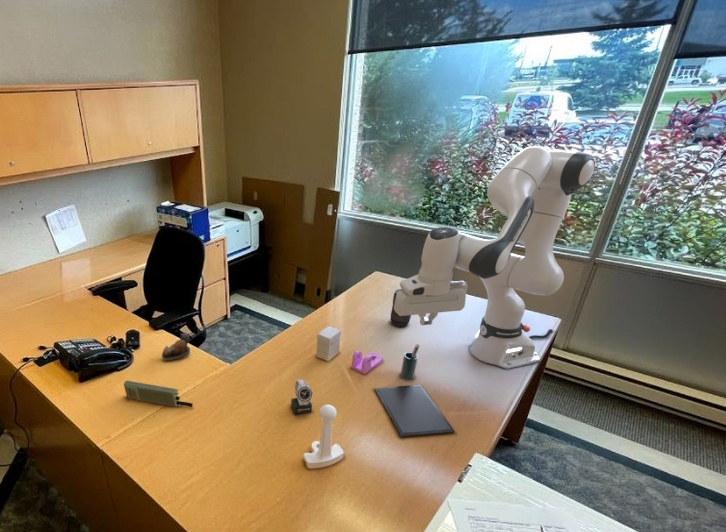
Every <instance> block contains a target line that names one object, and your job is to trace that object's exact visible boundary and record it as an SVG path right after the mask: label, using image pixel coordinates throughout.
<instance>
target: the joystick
mask: <svg viewBox="0 0 726 532" xmlns="http://www.w3.org/2000/svg"><path fill="white" fill-rule="evenodd" d="M337 412H338V411H337V409H336V408H335V407H334V406H333V405H331V404H323V405H321V407H320V409H319V410H318V414H319V418H320V419H321V420H322V422H321V430H320V436H319V440H315V441H313V442H312V443H311V448H310V449H311V452H304V453H303V458H302V459H303V461H304V462H305V466H306V467H307V468H308V469H320V468H325V467H329V466H332V465H334V464H337V463H338V462H340V461H341V460H343V458H344V453H345V451H344V450H343V448H342V446H340V445H339V443H335V444H333V445H332V438H333V437H332V435H333V434H332V433H333V432H332V431H333V429H332V428H333V421H335V419H337Z"/></svg>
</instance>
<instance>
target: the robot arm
mask: <svg viewBox="0 0 726 532" xmlns="http://www.w3.org/2000/svg"><path fill="white" fill-rule="evenodd" d="M595 169H596V160H595V158H594V156H593V154H590V153H587V152H583V151H570V150H561V149H552V150H549V149H548V150H547V149H546V148H543V147H541V146H537V145H536V146H535V145H534V146H528V147H525V148H523V149H521V150H520V151H519V152H517V153H516V154H515V155H514V156H512V157H511V158H510V159H509V161H507V162H506V163H505V164H504V166H502V167H501V169H500V170H499V171H498V172H497V173H496V175H495V176H494V177H493V178H492V179H491V180H490V183H489V184H488V186H487V190H486V191H487V192H486V193H487V194H486V195H487V198H488V201H489V203H490V204H491V206H492V207H493V208H494V209H495V210H496V211H498V212H500V213H501V214H502V215H504V216H505V217H506V218H507V219H506V221H505V223H504V224H503V226H502V228H501V229H500V231H499V233H498V235H497V237H496V238H493V239H486V238H485V239H484V238H481V237H478V236H473V235H471V234H467V233H464V232H460V231H459V230H458V229H457V228H455V227H453V226H438V227H435V228H433V229H431V230H430V231H429V232H428V234H427V236H426V238H425V241H424V245H423V248H422V253H421V258H420V259H421V261H420V262H421V265H420V268H419V270H418V273H416V274H415V275H413V276H411V277H408V278H406V279H402V280H401V281H400V282H399V287H400V288H399V289H400V290H399V291H398V293H397V295H396V299H395V303H394V310H395V312H396V313H397V314H398V315H399V316H406V315H411V316H415V315H416V316H417V315H418V317H419V324H420V325H421V326H429V325H432V324H433V321H434V320H435V319H436V317H437V316H438V315H439V313H448V312H450V313H451V312H459V311H462V310H463V309H464V308H465V306H466V299H467V291H468V286H469V285H468V283H467V282H466V281H464V280H458V281H452V280H453V276H454V273H453V269H454V268H456V269H459V270H461V271H463V272H468V273H470V274H472V275H473V276H476V277H478V278H479V279H480V280H481V281H482V283H483V286H484V287H485V290H486V294H487V303H486V308H485V313H484V316H483V317H482V319H481V321H480V325H479V330H478V332H477V333H476V334H475V336H474V338H475V340H474V341H473V343H472V345H470V347H469V352H470V353H471V355H472V356H473V357H475V358H476V359H477V360H480V361H481V362H483V363H486V364H489V365H490V364H491V365H495V366H498V367H500V368H501V369H506V370H508V369H514V368H517V367H521V366H526V365H530V364H535V363H540V360H541V357H540V354H539V353H538V352H537V351H536V350H535V349H536V344H535V343H534V341H533V340H532V339H536V338H537V339H544V338H547V337H549V336H550V335H551V333H553V332H554V331H553V329H551V328H549V329H548V331H547V332H546V333H545V334H544V335H538V334H534V335H529V336H528V335H527V334H525V333H529V332H530V331H531V327H529V326H528V325H527V324H523V323H522V319H523V317H524V314H525V311H526V305H525V301H524V300H523V299H522V298H521V297H520V295H518V294H517V293H516V291H520V292H523V293H527V294H529V295H536V296H544V297H545V296H546V297H548V296H551V295H553V294H555V293H556V292H557V291H559V290H560V288H561V287H562V286H563V284H564V280H565V275H564V270H563V269H562V268H561V266H560V265H559V264H558V263H557V260H556V258H555V255H554V254H555V253H554V243H555V239H556V236H557V234H558V231H559V229H560V227H561V225H562V222H563V220H564V218H565V216H566V213H567V210H568V208H569V205H570V202H571V198H572V194H574V193H575V192H576V191H579V190H580V189H582V188H583V187H585V186H586V185H587V184H588V183H589V181H590V180H591V178H592V177H593V175H594V172H595ZM517 243H520V244H521V245H522V246H523V247H524V250H525V253H524V255H519V254H516V253H512V252H513V251H514V249H515V247H516V245H517ZM515 290H516V291H515ZM427 314H429V315H428V316H427V317H426V315H427Z"/></svg>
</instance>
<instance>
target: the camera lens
mask: <svg viewBox="0 0 726 532" xmlns="http://www.w3.org/2000/svg"><path fill="white" fill-rule="evenodd" d="M400 289H401V288H399V289H395V291H394V293H393V297H392V305H391V311H390V323H391V325H392V326H393V327H395V328H406V327H407V326H408V325H409V323H410V321H411V317H412V315H406V316H399V315H398V314H397V313H396V312H395V310H394V303H395V299H396V295H397V293H398V291H399V290H400Z"/></svg>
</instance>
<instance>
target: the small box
mask: <svg viewBox="0 0 726 532" xmlns="http://www.w3.org/2000/svg"><path fill="white" fill-rule="evenodd" d="M341 334H342V330H341V329H338V328H335V327H334V326H330V325H328V326H326V327H325V328H324V329H322V330H321V331H319V332H318V333H317V338H316V340H317V341H316V353H315V355H316V357H317V358H319V359H321V360H324V361H326V362H330V360H332V359H333V358H334V357H335V356H337V355H338V354H339V353H340V347H341V337H342V336H341Z"/></svg>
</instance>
